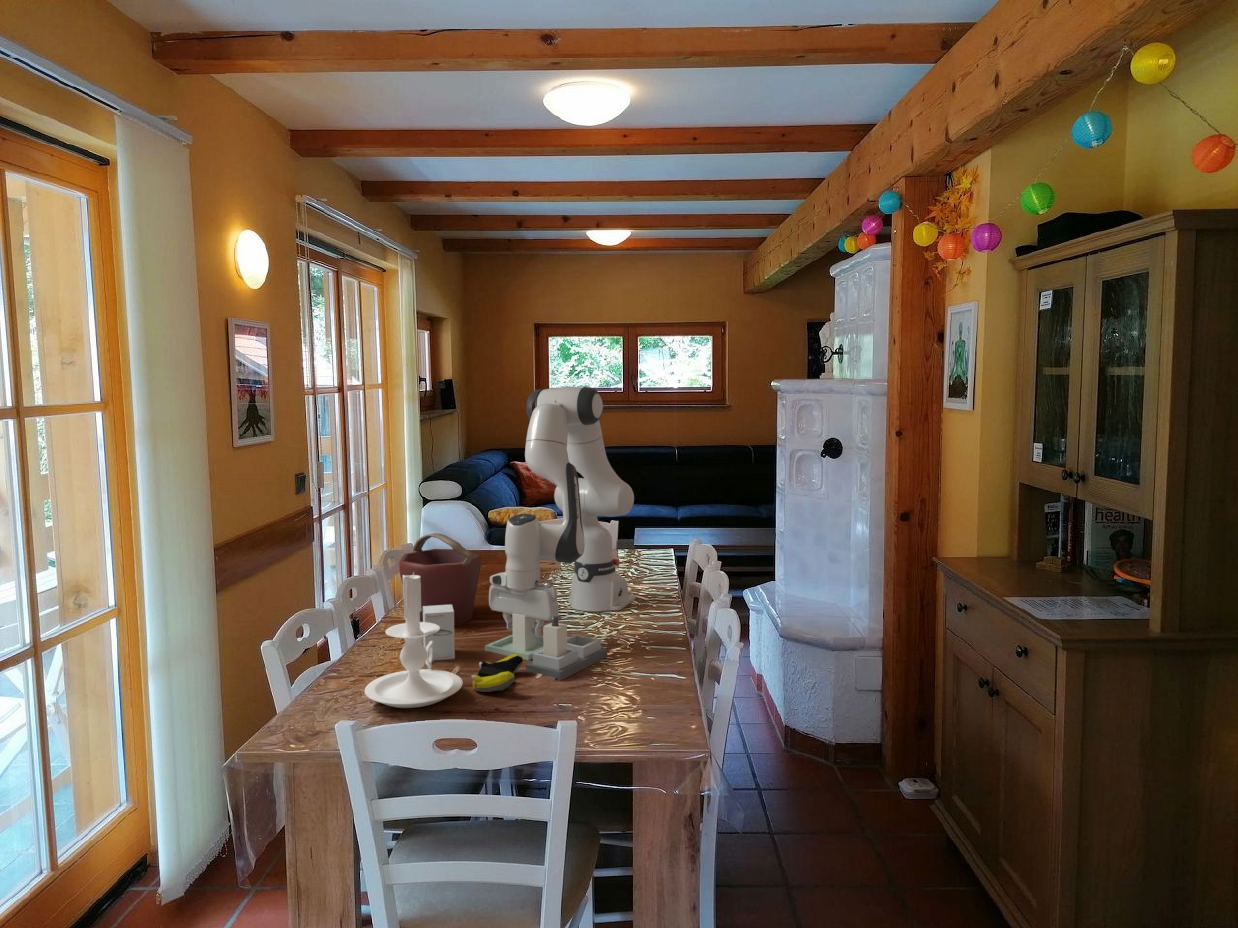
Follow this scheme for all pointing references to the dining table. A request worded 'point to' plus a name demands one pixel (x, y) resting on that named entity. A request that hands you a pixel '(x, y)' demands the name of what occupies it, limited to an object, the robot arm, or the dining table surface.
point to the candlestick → (413, 660)
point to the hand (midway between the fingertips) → (523, 631)
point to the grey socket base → (564, 652)
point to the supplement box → (440, 631)
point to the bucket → (444, 575)
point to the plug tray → (506, 648)
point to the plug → (523, 632)
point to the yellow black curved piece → (496, 674)
